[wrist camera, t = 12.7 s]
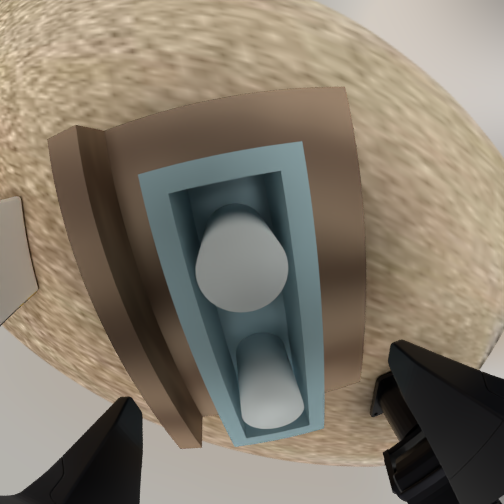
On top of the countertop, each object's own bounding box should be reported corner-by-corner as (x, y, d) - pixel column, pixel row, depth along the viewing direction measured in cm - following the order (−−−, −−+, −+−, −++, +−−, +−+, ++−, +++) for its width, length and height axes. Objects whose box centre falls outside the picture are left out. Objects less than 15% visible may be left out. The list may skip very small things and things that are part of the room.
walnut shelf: (350, 365, 20) (375, 407, 15) (184, 400, 19) (180, 448, 15) (330, 94, 13) (373, 72, 9) (94, 142, 13) (47, 139, 8)
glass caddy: (303, 371, 17) (326, 434, 12) (230, 386, 17) (235, 453, 12) (272, 148, 12) (306, 140, 7) (169, 169, 12) (132, 175, 7)
